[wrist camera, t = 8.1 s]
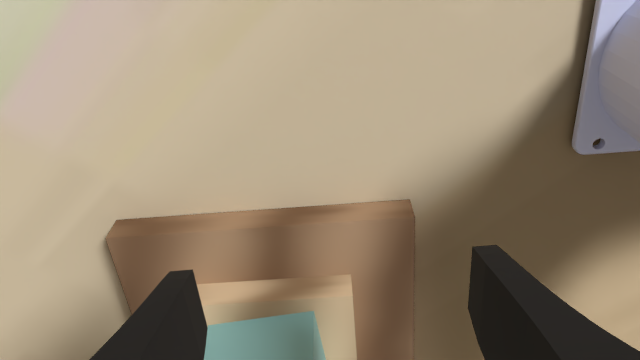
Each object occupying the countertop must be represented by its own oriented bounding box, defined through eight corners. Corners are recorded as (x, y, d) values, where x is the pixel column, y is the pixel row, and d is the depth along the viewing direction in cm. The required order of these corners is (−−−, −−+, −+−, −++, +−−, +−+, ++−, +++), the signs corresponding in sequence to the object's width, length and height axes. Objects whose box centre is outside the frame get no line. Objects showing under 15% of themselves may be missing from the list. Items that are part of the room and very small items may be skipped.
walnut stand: (409, 199, 24) (420, 236, 22) (409, 398, 31) (417, 445, 28) (116, 220, 25) (92, 258, 22) (179, 411, 32) (166, 458, 29)
